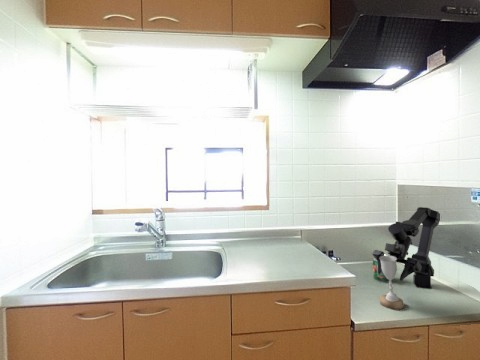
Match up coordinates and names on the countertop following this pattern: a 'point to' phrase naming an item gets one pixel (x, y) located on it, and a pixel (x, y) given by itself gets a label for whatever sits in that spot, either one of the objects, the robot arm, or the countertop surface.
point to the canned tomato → (377, 276)
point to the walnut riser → (391, 303)
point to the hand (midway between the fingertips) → (389, 276)
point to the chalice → (389, 274)
